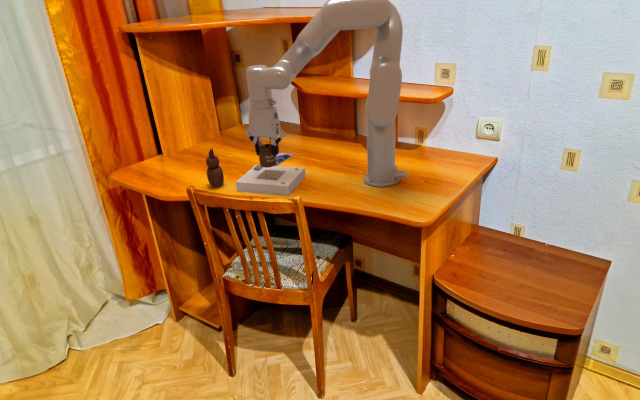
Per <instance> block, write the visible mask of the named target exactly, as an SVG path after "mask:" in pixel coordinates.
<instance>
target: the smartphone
mask: <svg viewBox="0 0 640 400" xmlns="http://www.w3.org/2000/svg"><path fill="white" fill-rule="evenodd" d="M292 157H294V154H293V153H287V152H279V153H278V155H276V165H275V166H278V165H279V166H280V164H282V163H284V162H285V161H287V160H289V159H290V158H292Z"/></svg>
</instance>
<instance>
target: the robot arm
mask: <svg viewBox="0 0 640 400" xmlns="http://www.w3.org/2000/svg"><path fill="white" fill-rule="evenodd" d="M363 29H365V30H366V29H373V31H374V40H373V52H372V59H371V60H372V61H371V65H370V69H369V83H368V84H369V86H368V92H367V93H368V95H367V97H366V100H365V120H366V121H365V123H366V154H367V158H366V159H367V173H365V174H364V176H363V182H364V184H367V185H368V186H371V187H376V188H377V187H378V188H379V187H380V188H382V187H383V188H384V187H391V186H393V185H396V184H398V183H399V181H400V179H401V178H402V179H408V176H409V175H408V174H409V173H408V172H406V170H403V169H402V170H399V168H398V165H396V118H397V115H398V110H399V104H400V96H401V90H402V81H403V73H402V72H403V71H402V69H401V64H400V63H401V53H402V45H403V35H404V34H403V32H404V31H403V22H402V19H401V15H400V13H399V11H398V10H397V8H396V6H395V5H394V4H393V3H392V2H391V1H390V0H327V1H326V2H325V3H324V4H323V5H322V6H321V8H320V9H319V10H318V11H317V12H316V13H315V15H314V16H313V17H312V18H311V20H310V21H309V22H308V23H307V24H306V25H305V27H304V28H303V29H302V30H301V31H300V32H299V34H298V35H297V37H296V39H295V41H294V42H293V43H292V45H291V46H290V48H288V50H287V51H285V53H284V54H283V55H282V57H281V58H280V59H279V60H278V62H277V63H275V65H273V66H271V67H268V66H267V65H265V64H254V65H250V66H248V67H246V70H245V75H246V82H247V84H246V85H247V89H248V90H247V91H248V97H249V104H250V108H249V109H248V127H247V129H246V131H245V132H244V135H245V136H246V137H247V138H249V140H250V141H251V142H252V144H253V145H254V149H255V154H256V156H259V146H261V145H262V141H260V140H261V138H260V137H262V138H268V139H269V138H270V139H271V144H272V145H273V146H272V152H273V156H274V157H275V156H276V155H278V154H279V153H280V149H279V147H280V146H279V144H280V142H281V141H282V140H283V139H284V138H285V137H286V136H287V134H286V132H284V130H283V129H282V128H281V122H280V118H279V112H278V110H277V107H276V105H277V101H276V100H274V98H273V92H272V90H279V91H281V90H285V89H287V88H288V87H289V86H290V85H291V84H292V83H293V81H294V79H295V78H296V77H297V75H298V74H299V73H300V72H301V71H302V70H303V68H304V67H305V66H306V65H307V64H308V63H309V62H310V61H311V60H312V59H313V58H315V57H317V56H318V55H319V54H320V53H321V52H322V51H323V50H324V49H325V48H326V46H327V45H328V44H329V43H330V42H331V41H332V40H333V39H334V37H335V36H336V35H338V33H339V32H340V31H350V30H351V31H352V30H363ZM278 135H279V136H278ZM270 139H269V140H270ZM258 142H259V143H260V144H261V145H260V144H259V143H258Z"/></svg>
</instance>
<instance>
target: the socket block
mask: <svg viewBox="0 0 640 400" xmlns="http://www.w3.org/2000/svg"><path fill="white" fill-rule="evenodd" d="M306 177H307V175H306V168H305V167H294V166H281V165H279V166H278V165H277V166H273V167H268V168H265V167H262V166H261V165H260V164H255V165H253V167H251V168H250V169H249V170H248V171H247V172H246V173H244V174H243V175H242V176H241V177H240V178H239V179H237V180H236V181H235V187H236V192H245V193H247V192H248V193H259V194H267V195H268V194H269V195H278V196H279V195H281V196H290V195H291V194H292V192H294V190H296V188H297V187H298V186H299V185H300V184H301V182H302V181H304V180H305V178H306Z"/></svg>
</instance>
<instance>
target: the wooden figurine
mask: <svg viewBox="0 0 640 400" xmlns="http://www.w3.org/2000/svg"><path fill="white" fill-rule="evenodd" d="M207 153H208V156H207V157H206V159H205V164H206V167H207V169H206V176H207V177H206V178H207V181H208V183H209V185H210V186H211V187H213V188H219V187H221V186H223V184H224V183H225V182H224V180H225V178H224V171H223V168H222V167H221V166H220V159H219V157H218V156H217V155H215V152H214V149H213V147H210V148H209V150H208V151H207Z"/></svg>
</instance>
